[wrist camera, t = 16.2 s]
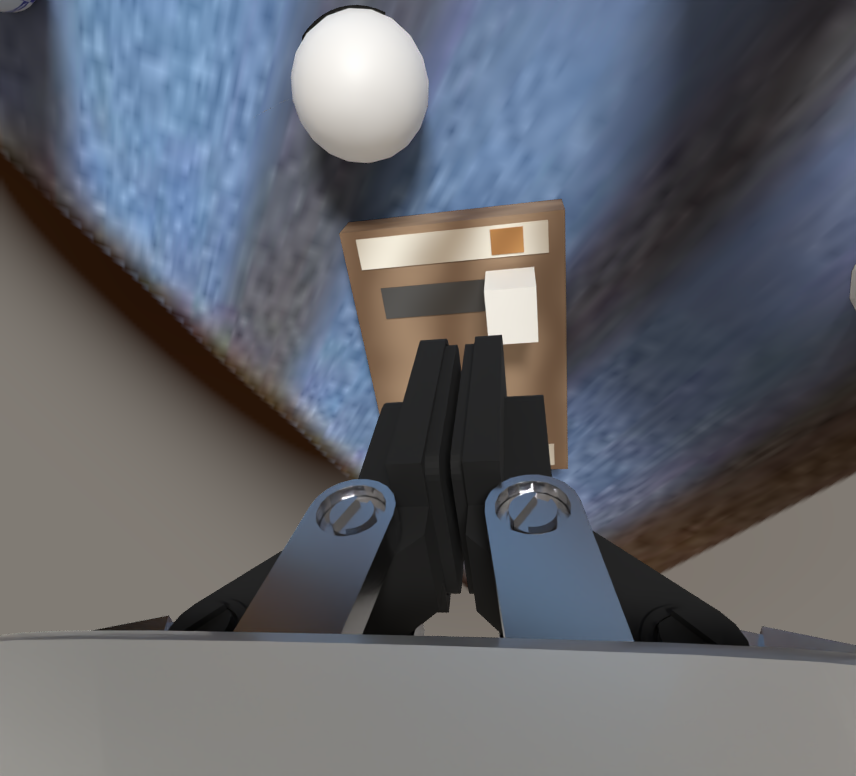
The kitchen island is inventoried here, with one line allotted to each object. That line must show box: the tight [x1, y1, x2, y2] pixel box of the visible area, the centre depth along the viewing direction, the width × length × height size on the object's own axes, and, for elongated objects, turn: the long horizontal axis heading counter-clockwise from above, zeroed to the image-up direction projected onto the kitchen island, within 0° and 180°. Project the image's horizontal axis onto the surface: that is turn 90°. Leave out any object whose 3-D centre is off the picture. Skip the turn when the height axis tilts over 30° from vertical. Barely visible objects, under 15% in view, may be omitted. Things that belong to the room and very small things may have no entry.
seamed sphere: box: [256, 5, 429, 163], centre depth 30 cm, size 10×7×7 cm
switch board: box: [339, 199, 568, 469], centre depth 41 cm, size 14×20×3 cm
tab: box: [484, 267, 538, 344], centre depth 35 cm, size 3×4×3 cm
